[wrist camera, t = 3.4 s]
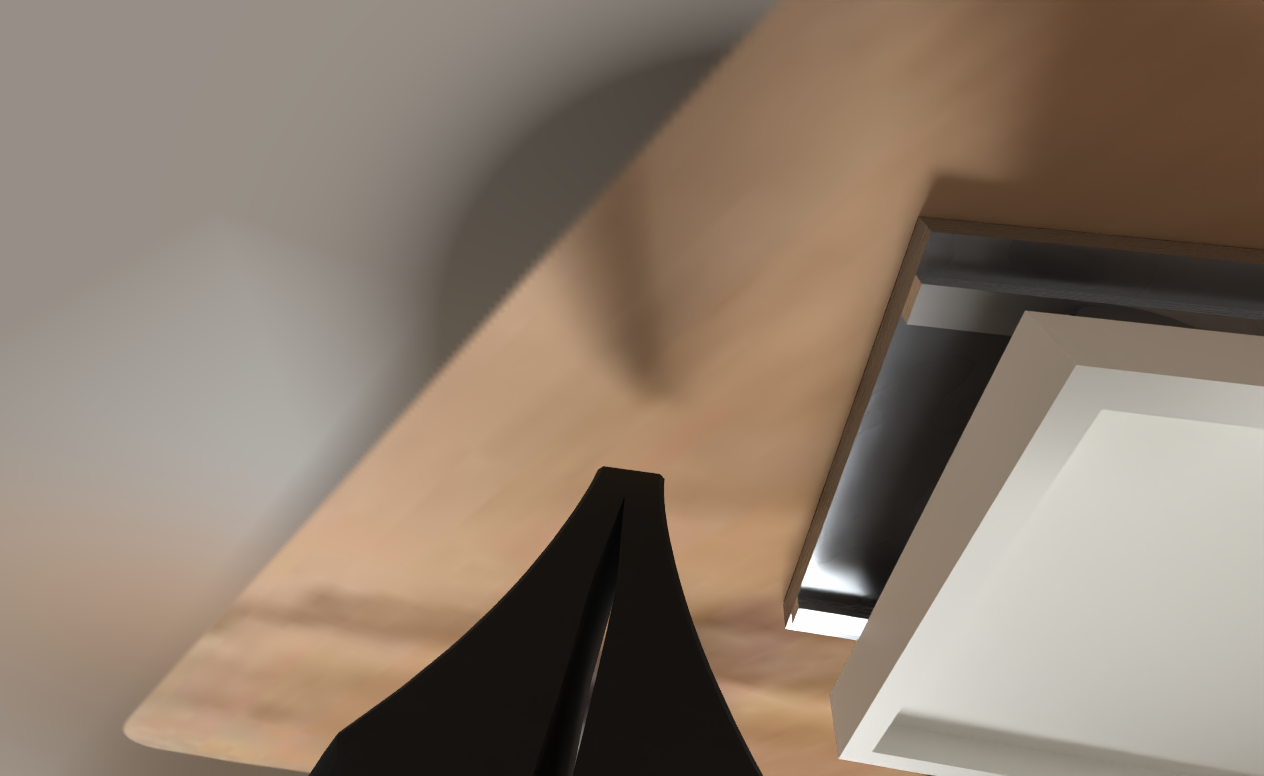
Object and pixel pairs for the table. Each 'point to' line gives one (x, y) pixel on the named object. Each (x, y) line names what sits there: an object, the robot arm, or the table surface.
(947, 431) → the dark grey tray
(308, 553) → the table surface
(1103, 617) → the white recessed tray
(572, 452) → the table surface
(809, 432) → the table surface
